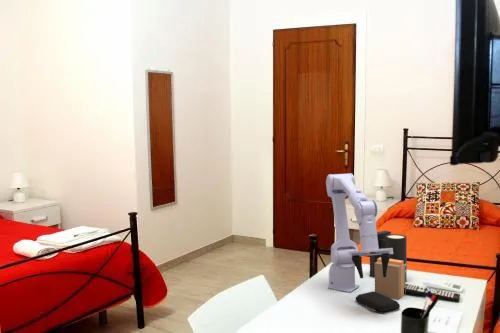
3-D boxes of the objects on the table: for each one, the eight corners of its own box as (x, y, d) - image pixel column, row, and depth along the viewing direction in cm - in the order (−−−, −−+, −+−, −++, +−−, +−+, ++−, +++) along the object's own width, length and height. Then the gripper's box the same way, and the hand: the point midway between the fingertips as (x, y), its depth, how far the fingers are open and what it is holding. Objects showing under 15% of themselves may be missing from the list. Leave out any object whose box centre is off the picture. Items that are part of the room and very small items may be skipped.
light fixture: (395, 285, 200) (394, 240, 198) (369, 276, 211) (369, 233, 210) (412, 280, 205) (412, 236, 203) (386, 272, 216) (386, 230, 215)
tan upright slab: (398, 299, 184) (398, 264, 183) (374, 294, 190) (374, 260, 189) (406, 293, 191) (406, 258, 189) (383, 288, 196) (383, 255, 195)
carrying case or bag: (350, 302, 184) (377, 316, 171) (350, 294, 184) (377, 307, 170) (374, 297, 188) (402, 310, 175) (374, 289, 188) (402, 301, 175)
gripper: (344, 238, 173) (348, 279, 170) (388, 234, 167) (393, 277, 165) (349, 238, 179) (353, 277, 177) (391, 234, 173) (396, 275, 171)
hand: (373, 277), depth 171 cm, fingers open, 7 cm apart
